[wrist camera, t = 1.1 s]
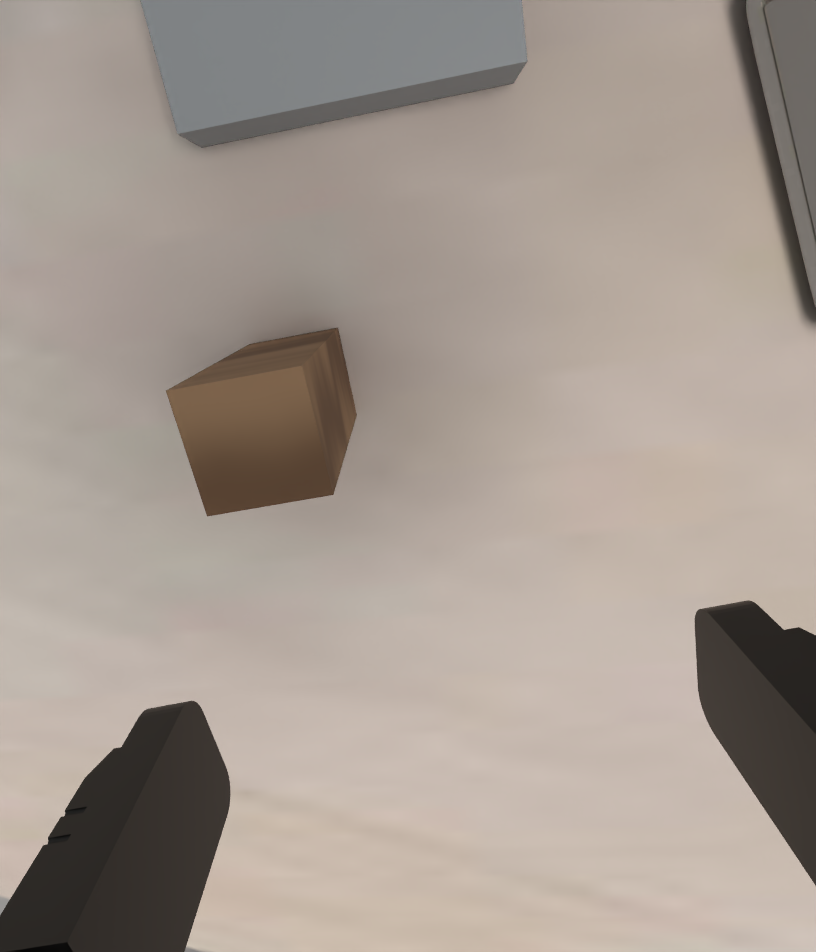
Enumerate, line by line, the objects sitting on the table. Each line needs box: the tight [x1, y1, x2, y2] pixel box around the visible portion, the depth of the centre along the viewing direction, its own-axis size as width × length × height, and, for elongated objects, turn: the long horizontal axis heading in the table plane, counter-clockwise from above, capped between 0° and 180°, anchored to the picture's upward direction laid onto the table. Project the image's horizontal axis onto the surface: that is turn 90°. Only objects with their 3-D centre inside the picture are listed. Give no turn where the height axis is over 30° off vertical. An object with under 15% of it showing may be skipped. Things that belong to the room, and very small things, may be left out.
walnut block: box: [166, 328, 357, 516], centre depth 25 cm, size 4×4×11 cm
